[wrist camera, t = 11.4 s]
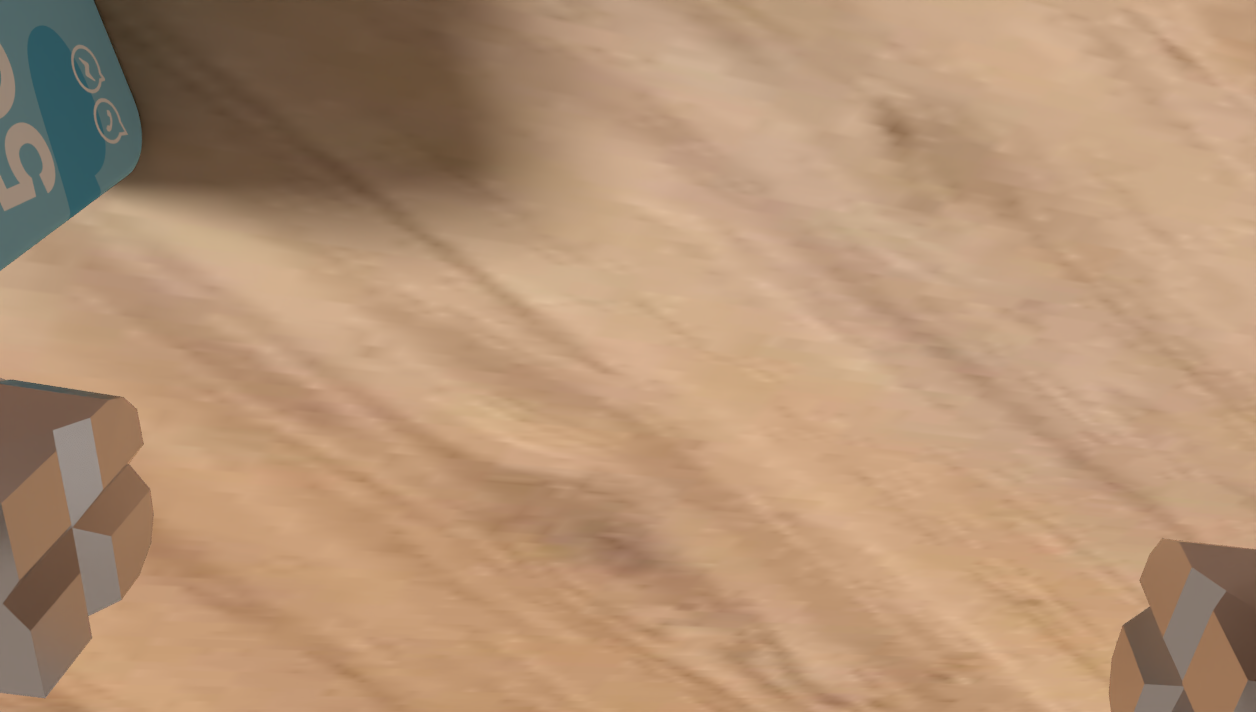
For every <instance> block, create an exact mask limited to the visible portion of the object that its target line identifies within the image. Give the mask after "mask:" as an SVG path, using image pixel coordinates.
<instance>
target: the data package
mask: <svg viewBox="0 0 1256 712" xmlns="http://www.w3.org/2000/svg"><path fill="white" fill-rule="evenodd" d="M141 148H142V129H141V122H140V117H139V113H138V110H137V107H136V104H135V101H134V99H133V96H132V94H131V91H130V89H129V86H128V84H127V81H126V79H125V76H124V74H123V71H122V69H121V66H120V64H119V62H118V59H117V57H116V54H115V52H114V49H113V47H112V44H111V42H110V39H109V37H108V34H107V32H106V29H105V27H104V24H103V22H102V20H101V17H100V15H99V12H98V10H97V7H96V5H95V2H94V0H0V271H1V270H2V269H3V268H5V267H6V266H7V265H9V264H10V263H11V262H13V261H14V260H15V259H17V258H18V257H19V256H21V255H22V254H23V253H25V252H26V251H27V250H29V249H30V248H31V247H33V246H34V245H35V244H37V243H38V242H39V241H41V240H42V239H43V238H45V237H46V236H47V235H49V234H50V233H51V232H53V231H54V230H55V229H57V228H58V227H59V226H61V225H62V224H63V223H65V222H66V221H67V220H69V219H70V218H71V217H73V216H74V215H75V214H77V213H78V212H79V211H81V210H82V209H83V208H85V207H86V206H87V205H89V204H90V203H91V202H93V201H94V200H95V199H97V198H98V197H99V196H101V195H102V194H103V193H105V192H106V191H108V190H109V189H110V188H112V187H113V186H114V185H116V184H117V183H118V182H120V181H121V180H122V179H124V178H125V177H126V176H128V175H129V174H130V173H131V172H132V171H133V169H134V168H135V167H136V165H137V163H138V160H139V157H140V153H141Z"/></svg>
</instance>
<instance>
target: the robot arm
mask: <svg viewBox="0 0 1256 712" xmlns="http://www.w3.org/2000/svg"><path fill="white" fill-rule="evenodd" d="M143 444H144V443H143V438H142V432H141V427H140V422H139V417H138V412H137V409H136V408H135V407H134V406H133V405H132V404H131V403H130V402H128V401H127V400H126V399H125V398H124V397H120V396H113V395H107V394H100V393H94V392H87V391H81V390H75V389H68V388H62V387H55V386H49V385H42V384H36V383H30V382H23V381H17V380H4V379H2V378H0V693H7V694H15V695H23V696H31V697H39V698H46V696H47V695H48V694H49V693H50V691H51V690H52V689H53V687H54V686H55V685H56V684H57V682H58V681H59V680H60V678H61V677H62V676H63V675H64V673H65V672H66V671H67V670H68V668H69V667H70V666H71V664H72V663H73V662H74V661H75V659H76V658H77V657H78V655H79V654H80V653H81V652H82V650H83V649H84V648H85V646H86V645H87V644H88V643H89V641H90V640H91V639H92V634H91V629H90V623H89V617H88V616H89V615H91V614H94V613H96V612H98V611H100V610H102V609H104V608H106V607H108V606H110V605H112V604H114V603H116V602H118V601H120V600H122V599H123V597H124V596H125V594H126V593H127V592H128V590H129V589H130V588H131V586H132V585H133V583H134V582H135V581H136V579H137V578H138V577H139V575H140V572H141V570H142V567H143V564H144V561H145V559H146V556H147V553H148V550H149V548H150V545H151V542H152V529H153V516H154V513H153V505H152V498H151V490H150V488H149V487H148V486H147V485H146V484H145V482H144V481H143V480H142V479H141V478H140V477H139V475H138V474H137V473H136V472H135V471H134V469H133V468H132V467H131V466H130V465H129V463H130V462H131V461H132V459H133V458H134V457H135V455H136V454H137V452H138V451H139V450H140V448H141V447H142V446H143ZM1140 583H1141V585H1142V588H1143V590H1144V593H1145V595H1146V597H1147V600H1148V602H1149V605H1150V607H1149V608H1147V609H1146V610H1144V611H1143V612H1141V613H1140V614H1138V615H1137V616H1135V617H1134V618H1133V619H1131V620H1130V621H1128V622H1127V623H1125V624H1124V625H1123V626H1122V629H1121V632H1120V635H1119V638H1118V641H1117V644H1116V647H1115V650H1114V653H1113V657H1112V662H1111V674H1110V686H1109V699H1110V706H1111V712H1256V549H1249V548H1240V547H1232V546H1223V545H1215V544H1206V543H1198V542H1189V541H1181V540H1172V539H1164V538H1162V539H1161V540H1160V542H1159V543H1158V544H1157V546H1156V547H1155V548H1154V549H1153V551H1152V552H1151V553H1150V555H1149V557H1148V560H1147V563H1146V565H1145V568H1144V570H1143V573H1142V575H1141V578H1140Z"/></svg>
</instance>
